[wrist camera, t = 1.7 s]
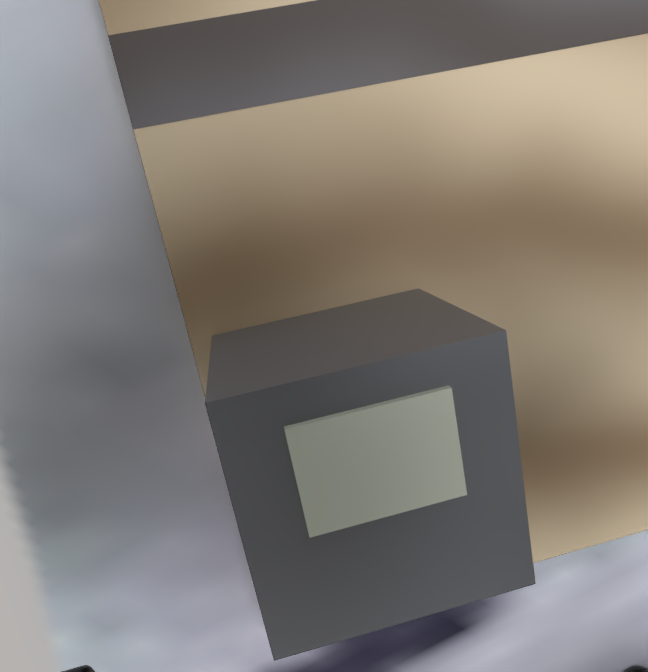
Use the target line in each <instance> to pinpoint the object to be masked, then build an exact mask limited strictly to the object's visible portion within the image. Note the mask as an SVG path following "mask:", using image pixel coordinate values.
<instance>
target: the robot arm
mask: <svg viewBox="0 0 648 672" xmlns="http://www.w3.org/2000/svg"><path fill="white" fill-rule="evenodd" d="M62 672H95V671H94V670H93V668H92V667H90V666H87V665H84V666H80V667H76V668H73V669H69V670H66V671H62ZM634 672H648V671H647V670H642V669H640V670H636V671H634Z"/></svg>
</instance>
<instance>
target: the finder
mask: <svg viewBox="0 0 648 672" xmlns="http://www.w3.org/2000/svg"><path fill="white" fill-rule="evenodd" d="M205 405H206V409H207V413H208V416H209V420H210V424H211V427H212V431H213V435H214V439H215V442H216V446H217V450H218V454H219V457H220V461H221V465H222V468H223V472H224V476H225V480H226V483H227V487H228V491H229V495H230V498H231V502H232V506H233V509H234V513H235V517H236V521H237V524H238V528H239V532H240V536H241V539H242V543H243V547H244V550H245V554H246V558H247V562H248V565H249V569H250V573H251V576H252V580H253V584H254V588H255V591H256V595H257V599H258V603H259V606H260V610H261V614H262V617H263V621H264V625H265V629H266V632H267V636H268V640H269V644H270V647H271V651H272V655H273V658H274V661H275V660H278V659H282V658H285V657H288V656H292V655H295V654H299V653H302V652H305V651H309V650H312V649H316V648H319V647H322V646H326V645H329V644H333V643H336V642H339V641H343V640H346V639H350V638H353V637H356V636H360V635H363V634H367V633H370V632H373V631H377V630H380V629H384V628H387V627H390V626H394V625H397V624H401V623H404V622H407V621H411V620H414V619H418V618H421V617H424V616H428V615H431V614H435V613H438V612H441V611H445V610H448V609H452V608H455V607H458V606H462V605H465V604H469V603H472V602H475V601H479V600H482V599H485V598H489V597H492V596H496V595H499V594H502V593H506V592H509V591H513V590H516V589H519V588H523V587H526V586H530V585H533V584H535V576H534V567H533V559H532V550H531V541H530V533H529V524H528V515H527V507H526V498H525V489H524V480H523V472H522V463H521V454H520V446H519V437H518V428H517V420H516V411H515V402H514V394H513V385H512V376H511V368H510V359H509V350H508V341H507V333H506V330H505V329H503V328H501V327H498V326H496V325H494V324H492V323H490V322H488V321H486V320H484V319H482V318H480V317H478V316H475V315H473V314H471V313H469V312H467V311H465V310H463V309H461V308H459V307H457V306H455V305H453V304H450V303H448V302H446V301H444V300H442V299H440V298H438V297H436V296H434V295H432V294H430V293H428V292H425V291H423V290H421V289H419V288H418V289H413V290H409V291H405V292H400V293H396V294H392V295H387V296H383V297H378V298H374V299H370V300H365V301H361V302H357V303H352V304H348V305H343V306H339V307H335V308H330V309H326V310H322V311H317V312H313V313H309V314H304V315H300V316H295V317H291V318H287V319H282V320H278V321H274V322H269V323H265V324H260V325H256V326H252V327H247V328H243V329H239V330H234V331H230V332H225V333H221V334H217V335H212V339H211V349H210V359H209V368H208V378H207V388H206V397H205Z"/></svg>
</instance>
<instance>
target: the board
mask: <svg viewBox="0 0 648 672" xmlns="http://www.w3.org/2000/svg"><path fill="white" fill-rule="evenodd" d="M99 3H100V7H101V10H102V14H103V18H104V21H105V25H106V29H107V33H108V37H109V41H110V44H111V48H112V52H113V56H114V59H115V63H116V67H117V71H118V74H119V78H120V82H121V85H122V89H123V93H124V97H125V100H126V104H127V108H128V112H129V115H130V119H131V123H132V127H133V130H134V134H135V137H136V141H137V145H138V149H139V152H140V156H141V160H142V163H143V167H144V171H145V175H146V178H147V182H148V186H149V190H150V193H151V197H152V201H153V205H154V208H155V212H156V216H157V220H158V223H159V227H160V231H161V234H162V238H163V242H164V246H165V249H166V253H167V257H168V261H169V264H170V268H171V272H172V276H173V279H174V283H175V287H176V291H177V294H178V298H179V302H180V305H181V309H182V313H183V317H184V320H185V324H186V328H187V332H188V335H189V339H190V343H191V347H192V350H193V354H194V358H195V362H196V365H197V369H198V373H199V376H200V380H201V384H202V388H203V391H204V395H205V397H206V388H207V378H208V368H209V359H210V349H211V339H212V335H217V334H221V333H225V332H230V331H234V330H239V329H243V328H247V327H252V326H256V325H260V324H265V323H269V322H274V321H278V320H282V319H287V318H291V317H295V316H300V315H304V314H309V313H313V312H317V311H322V310H326V309H330V308H335V307H339V306H343V305H348V304H352V303H357V302H361V301H365V300H370V299H374V298H378V297H383V296H387V295H392V294H396V293H400V292H405V291H409V290H413V289H418V288H419V289H421V290H423V291H425V292H428V293H430V294H432V295H434V296H436V297H438V298H440V299H442V300H444V301H446V302H448V303H450V304H453V305H455V306H457V307H459V308H461V309H463V310H465V311H467V312H469V313H471V314H473V315H475V316H478V317H480V318H482V319H484V320H486V321H488V322H490V323H492V324H494V325H496V326H498V327H501V328H503V329H505V330H506V333H507V341H508V350H509V359H510V368H511V376H512V385H513V394H514V402H515V411H516V420H517V428H518V437H519V446H520V454H521V463H522V472H523V480H524V489H525V498H526V507H527V515H528V524H529V533H530V541H531V550H532V559H533V563H535V562H539V561H542V560H545V559H549V558H552V557H556V556H559V555H563V554H566V553H570V552H573V551H577V550H580V549H583V548H587V547H590V546H594V545H597V544H601V543H604V542H608V541H611V540H614V539H618V538H621V537H625V536H628V535H632V534H635V533H639V532H642V531H645V530H648V0H99Z"/></svg>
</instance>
